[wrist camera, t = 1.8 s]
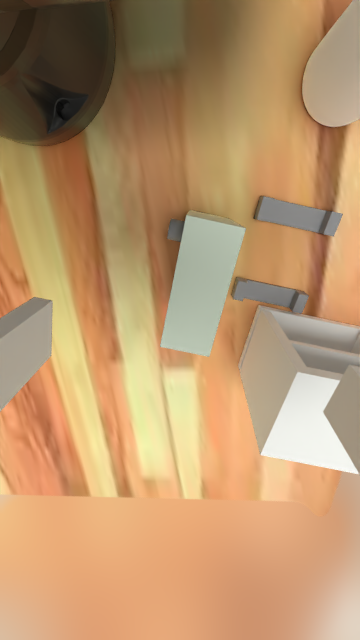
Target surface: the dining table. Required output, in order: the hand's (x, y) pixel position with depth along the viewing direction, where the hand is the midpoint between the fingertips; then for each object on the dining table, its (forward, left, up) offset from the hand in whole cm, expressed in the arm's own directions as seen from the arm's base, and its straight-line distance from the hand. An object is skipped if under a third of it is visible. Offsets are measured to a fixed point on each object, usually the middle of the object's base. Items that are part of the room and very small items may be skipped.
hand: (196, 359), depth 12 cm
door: (0, 0, -19) cm, 19 cm away
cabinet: (+1, +12, -19) cm, 22 cm away
